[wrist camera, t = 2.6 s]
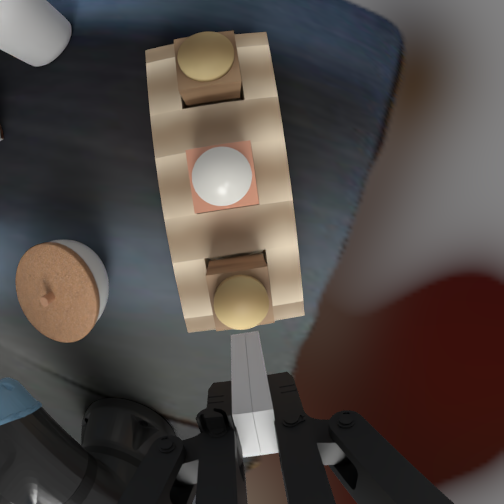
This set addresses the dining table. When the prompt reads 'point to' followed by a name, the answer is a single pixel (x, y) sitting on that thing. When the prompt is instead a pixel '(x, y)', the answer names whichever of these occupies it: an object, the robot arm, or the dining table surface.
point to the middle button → (222, 176)
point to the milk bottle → (33, 31)
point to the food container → (1, 134)
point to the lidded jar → (62, 289)
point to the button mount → (233, 219)
